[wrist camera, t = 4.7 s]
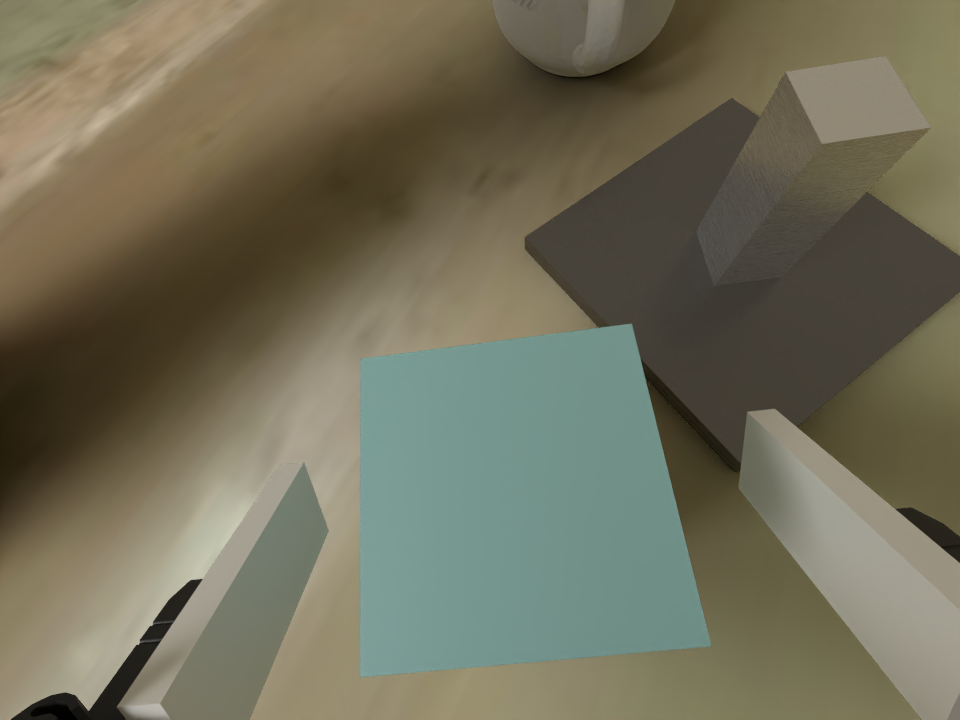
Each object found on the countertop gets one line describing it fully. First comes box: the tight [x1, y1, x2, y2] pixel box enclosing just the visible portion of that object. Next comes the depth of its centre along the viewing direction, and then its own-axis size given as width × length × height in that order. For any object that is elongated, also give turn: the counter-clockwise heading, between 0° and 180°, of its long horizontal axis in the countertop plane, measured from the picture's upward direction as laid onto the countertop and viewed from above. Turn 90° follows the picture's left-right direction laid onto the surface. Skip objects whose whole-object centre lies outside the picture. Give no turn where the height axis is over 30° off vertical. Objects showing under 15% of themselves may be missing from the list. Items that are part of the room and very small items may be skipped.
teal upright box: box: [360, 324, 711, 677], centre depth 14 cm, size 6×6×11 cm
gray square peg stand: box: [525, 56, 960, 472], centre depth 18 cm, size 14×14×9 cm
